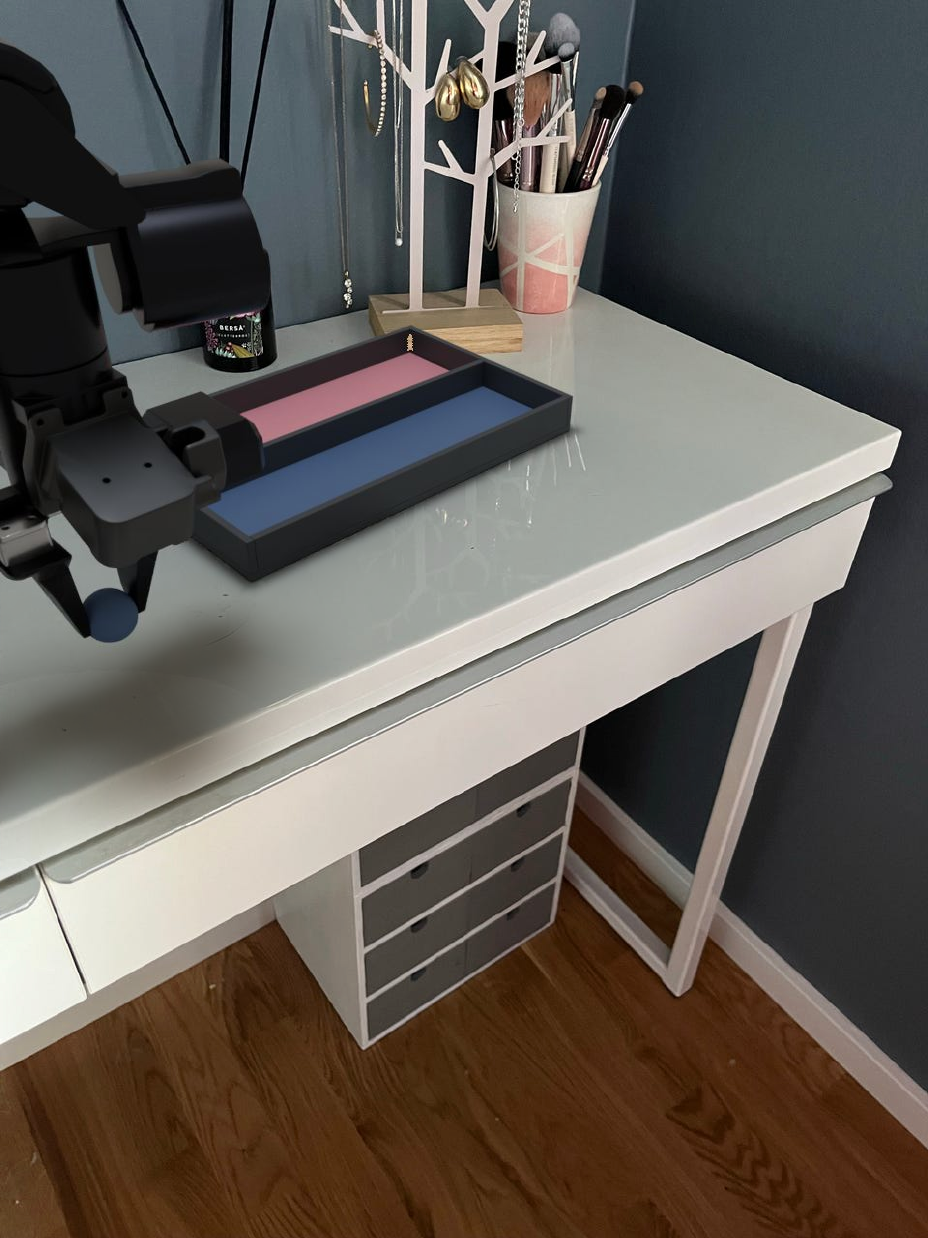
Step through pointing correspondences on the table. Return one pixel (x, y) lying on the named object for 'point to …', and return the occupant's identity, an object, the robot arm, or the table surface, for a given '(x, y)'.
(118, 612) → the slate ball
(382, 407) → the tray
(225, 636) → the table surface
